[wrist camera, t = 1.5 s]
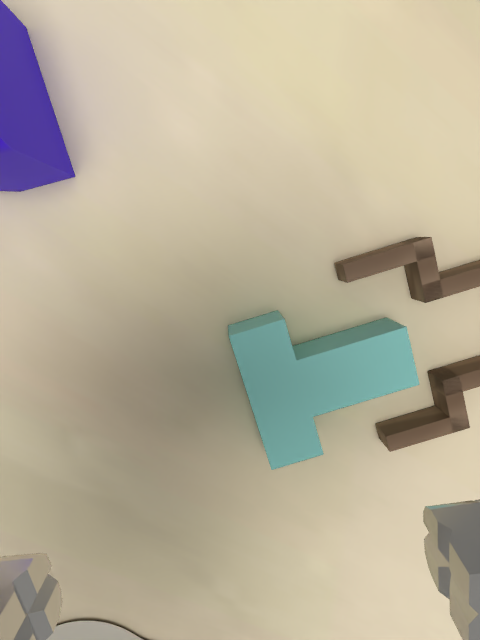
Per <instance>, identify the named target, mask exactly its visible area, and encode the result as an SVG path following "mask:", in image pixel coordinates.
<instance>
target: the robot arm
mask: <svg viewBox="0 0 480 640" xmlns="http://www.w3.org/2000/svg"><path fill="white" fill-rule="evenodd" d="M423 522H424V524H425V526H426V528H427V529H428V531H429V533H428V535H427V536H426V537H425V539H424V546H425V555H426V559H427V563H428V567H429V570H430V573H431V575H432V578H433V580H434V582H435V584H436V587H437V589H438V591H439V592H440V593H442V594H443V595H444V596H446V597H447V598H448V599H450V615H451V617H452V619H453V621H454V623H455V625H456V627H457V629H458V631H459V633H460V635H461V637H462V639H463V640H480V499H479V500H475V501H465V502H457V503H449V504H442V505H434V506H426V507H425V508H424V511H423ZM51 567H52V565H51V562H50V560H49V558H48V556H47V554H43V553H35V554H24V555H13V556H2V557H0V640H143V639H141V638H139V637H138V636H136V635H134V634H133V633H131V632H129V631H127V630H126V629H123V628H121V627H119V626H116V625H113V624H109V623H105V622H99V621H75V622H69V623H65V624H61V625H58V626H56V625H57V623H58V620H59V617H60V612H61V606H62V593H61V588H60V585H59V583H58V581H57V580H56V579H54V578H53V577H52V576H50V575H49V574H48V573H49V571H50V569H51Z"/></svg>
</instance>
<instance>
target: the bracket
mask: <svg viewBox="0 0 480 640" xmlns="http://www.w3.org/2000/svg"><path fill="white" fill-rule="evenodd" d="M72 177H75V174H74V171H73V168H72V165H71V162H70V159H69V156H68V153H67V150H66V147H65V144H64V141H63V138H62V135H61V132H60V129H59V126H58V123H57V120H56V116H55V113H54V110H53V107H52V104H51V101H50V98H49V95H48V92H47V89H46V86H45V83H44V80H43V77H42V74H41V71H40V68H39V65H38V62H37V59H36V56H35V53H34V50H33V47H32V44H31V41H30V38H29V35H28V32H27V29H26V27H25V26H24V25H23V24H22V22H21V21H20V20H19V19H18V18H17V17H16V16H15V15H14V14H13V13H12V12H11V11H10V9H9V8H8V7H7V6H6V5H5V4H4V3H3V2H2V1H1V0H0V191H20V192H21V191H24V190H28V189H32V188H35V187H39V186H43V185H46V184H50V183H54V182H57V181H61V180H65V179H68V178H72Z"/></svg>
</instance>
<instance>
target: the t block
mask: <svg viewBox="0 0 480 640" xmlns="http://www.w3.org/2000/svg"><path fill="white" fill-rule="evenodd" d="M228 333H229V339H230V342H231V345H232V348H233V351H234V354H235V357H236V360H237V364H238V367H239V370H240V373H241V376H242V379H243V382H244V385H245V388H246V392H247V395H248V398H249V401H250V404H251V407H252V410H253V413H254V416H255V420H256V423H257V426H258V429H259V432H260V435H261V438H262V441H263V444H264V448H265V451H266V454H267V457H268V460H269V463H270V466H271V469H272V470H273V469H276V468H280V467H283V466H286V465H290V464H293V463H296V462H300V461H303V460H306V459H310V458H313V457H316V456H320V455H323V451H322V447H321V444H320V440H319V437H318V433H317V430H316V426H315V423H314V420H313V417H314V416H317V415H321V414H324V413H327V412H331V411H334V410H337V409H340V408H344V407H347V406H350V405H354V404H357V403H360V402H364V401H367V400H370V399H373V398H377V397H380V396H383V395H387V394H390V393H393V392H397V391H400V390H403V389H407V388H410V387H413V386H416V385H419V380H418V376H417V371H416V367H415V363H414V358H413V354H412V349H411V345H410V340H409V336H408V332H407V327H406V326H403V325H401V324H399V323H397V322H395V321H393V320H391V319H389V318H383V319H380V320H376V321H373V322H370V323H367V324H363V325H360V326H357V327H354V328H350V329H347V330H344V331H340V332H337V333H334V334H331V335H327V336H324V337H321V338H318V339H314V340H311V341H308V342H305V343H301V344H298V345H295V346H292V343H291V340H290V336H289V333H288V330H287V326H286V323H285V319H284V318H283V317H282V315H281V314H280V313H279V311H278V310H277V311H274V312H270V313H267V314H264V315H261V316H257V317H254V318H251V319H248V320H244V321H241V322H238V323H235V324H231V325H228Z"/></svg>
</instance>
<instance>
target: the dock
mask: <svg viewBox="0 0 480 640" xmlns="http://www.w3.org/2000/svg"><path fill="white" fill-rule="evenodd" d="M403 265H404V266H405V271H406V275H407V280H408V284H409V289H410V293H411V298H412V299H415V300H418V301H422V302H425V303H427V302H430V301H433V300H436V299H440V298H443V297H446V296H450V295H453V294H456V293H459V292H463V291H466V290H469V289H472V288H476V287H479V286H480V260H478V261H475V262H471V263H468V264H465V265H462V266H458V267H455V268H452V269H449V270H445V271H442V272H438V267H437V262H436V257H435V252H434V247H433V242H432V237H416V238H413V239H409V240H406V241H403V242H400V243H397V244H393V245H390V246H387V247H384V248H380V249H377V250H374V251H371V252H368V253H364V254H361V255H358V256H355V257H351V258H348V259H345V260H342V261H339V262H335V267H336V271H337V275H338V279H339V280H341V281H344V282H347V283H348V282H351V281H354V280H358V279H361V278H364V277H367V276H371V275H374V274H377V273H380V272H384V271H387V270H390V269H393V268H397V267H400V266H403ZM428 376H429V380H430V385H431V389H432V394H433V399H434V403H435V406H432V407H429V408H426V409H422V410H419V411H416V412H412V413H409V414H406V415H403V416H399V417H396V418H393V419H389V420H386V421H383V422H379V423H376V428H377V432H378V436H379V439H380V440H381V441H382V442H383V444H384V445H385V446H386V447H387V449H388V450H389V451H390V452H391V451H394V450H397V449H401V448H404V447H407V446H411V445H414V444H417V443H421V442H424V441H427V440H431V439H434V438H437V437H441V436H444V435H447V434H451V433H454V432H457V431H461V430H464V429H467V428H470V426H469V421H468V416H467V411H466V406H465V401H464V396H463V391H466V390H469V389H473V388H476V387H479V386H480V356H476V357H473V358H470V359H466V360H463V361H460V362H457V363H453V364H450V365H447V366H443V367H440V368H437V369H433V370H430V371H428Z"/></svg>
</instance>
